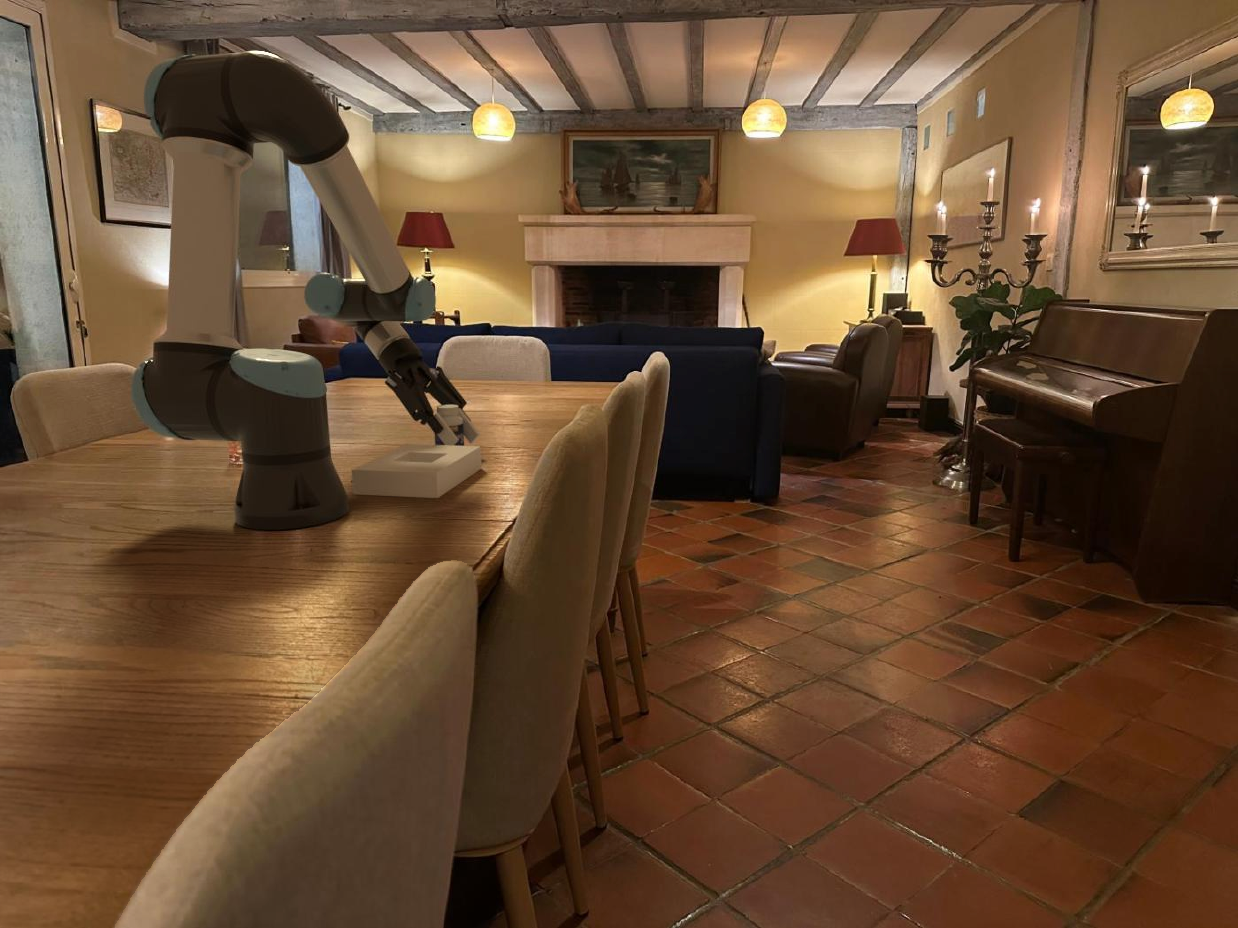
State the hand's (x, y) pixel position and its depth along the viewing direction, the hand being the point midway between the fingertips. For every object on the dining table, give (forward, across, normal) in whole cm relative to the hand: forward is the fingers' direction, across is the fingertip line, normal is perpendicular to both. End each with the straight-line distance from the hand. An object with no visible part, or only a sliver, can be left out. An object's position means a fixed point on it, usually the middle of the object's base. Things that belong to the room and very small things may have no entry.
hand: (464, 441), depth 151 cm
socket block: (+5, +16, +1) cm, 17 cm away
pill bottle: (0, 0, -5) cm, 5 cm away
